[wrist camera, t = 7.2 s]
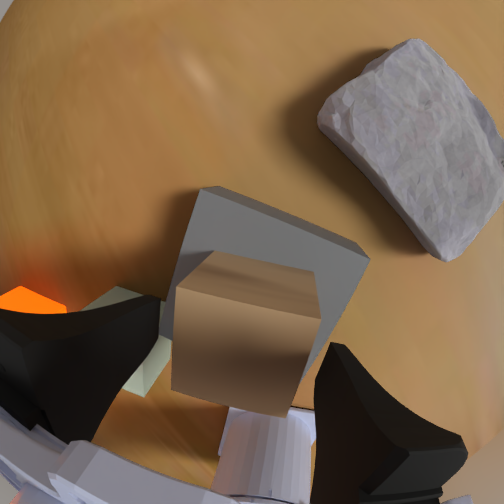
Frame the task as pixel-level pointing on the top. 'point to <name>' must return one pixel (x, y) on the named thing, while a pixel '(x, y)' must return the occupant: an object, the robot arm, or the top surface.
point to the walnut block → (244, 332)
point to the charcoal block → (269, 252)
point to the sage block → (155, 359)
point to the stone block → (421, 144)
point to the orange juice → (29, 302)
